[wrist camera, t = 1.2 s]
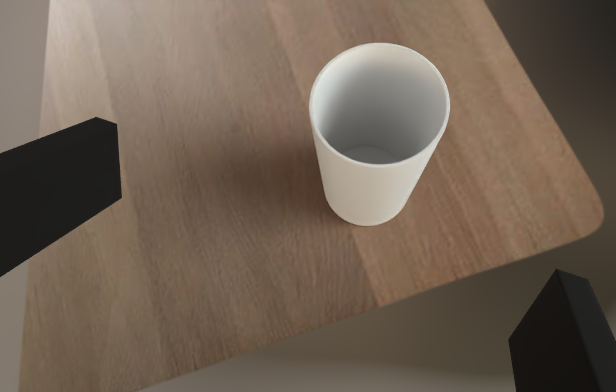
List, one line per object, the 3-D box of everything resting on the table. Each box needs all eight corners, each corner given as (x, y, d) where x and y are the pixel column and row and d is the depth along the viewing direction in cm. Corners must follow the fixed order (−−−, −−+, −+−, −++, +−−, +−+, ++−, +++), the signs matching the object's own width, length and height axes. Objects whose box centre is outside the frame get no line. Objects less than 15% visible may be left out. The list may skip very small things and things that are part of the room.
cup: (415, 222, 37) (462, 161, 22) (327, 229, 38) (313, 174, 23) (403, 141, 40) (438, 34, 24) (320, 149, 40) (304, 50, 25)
